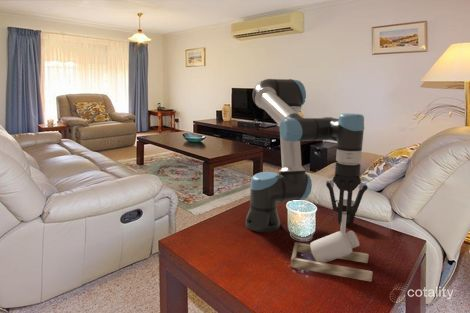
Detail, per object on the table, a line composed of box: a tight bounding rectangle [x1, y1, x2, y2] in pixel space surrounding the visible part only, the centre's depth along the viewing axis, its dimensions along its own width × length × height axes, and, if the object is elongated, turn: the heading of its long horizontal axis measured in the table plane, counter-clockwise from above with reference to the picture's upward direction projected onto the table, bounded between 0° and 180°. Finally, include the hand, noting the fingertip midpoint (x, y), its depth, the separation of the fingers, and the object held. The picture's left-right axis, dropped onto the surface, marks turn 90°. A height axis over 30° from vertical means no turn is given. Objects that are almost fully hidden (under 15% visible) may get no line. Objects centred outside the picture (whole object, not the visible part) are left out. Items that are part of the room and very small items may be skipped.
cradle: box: [290, 241, 373, 283], centre depth 108 cm, size 26×12×3 cm, turn 73°
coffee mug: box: [335, 198, 357, 227], centre depth 142 cm, size 12×9×10 cm
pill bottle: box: [310, 230, 360, 263], centre depth 106 cm, size 8×8×15 cm
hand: (342, 231), depth 104 cm, fingers closed
